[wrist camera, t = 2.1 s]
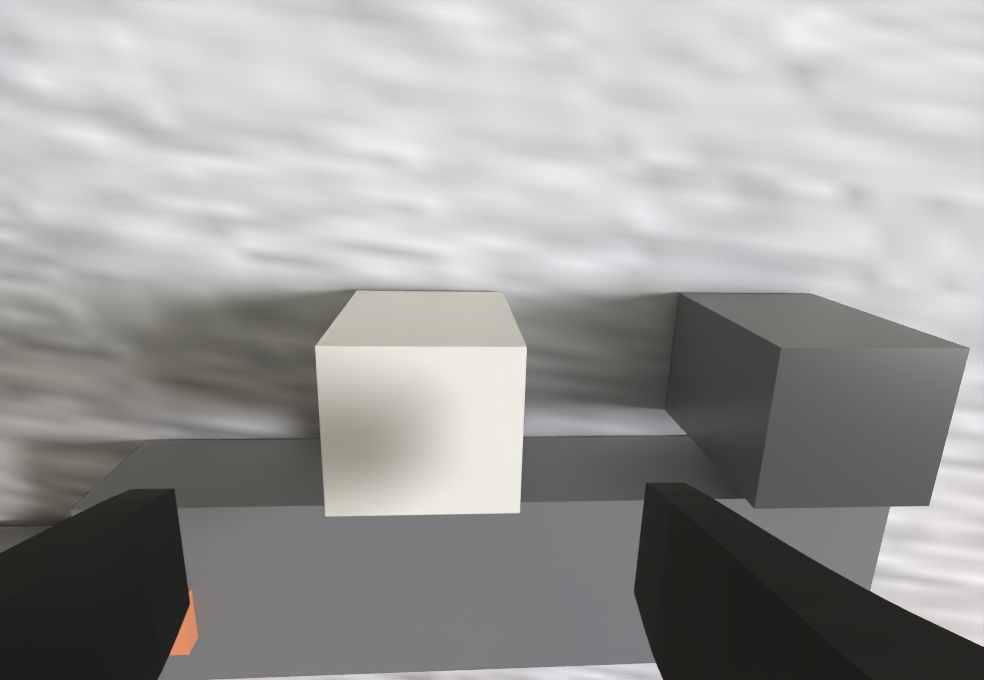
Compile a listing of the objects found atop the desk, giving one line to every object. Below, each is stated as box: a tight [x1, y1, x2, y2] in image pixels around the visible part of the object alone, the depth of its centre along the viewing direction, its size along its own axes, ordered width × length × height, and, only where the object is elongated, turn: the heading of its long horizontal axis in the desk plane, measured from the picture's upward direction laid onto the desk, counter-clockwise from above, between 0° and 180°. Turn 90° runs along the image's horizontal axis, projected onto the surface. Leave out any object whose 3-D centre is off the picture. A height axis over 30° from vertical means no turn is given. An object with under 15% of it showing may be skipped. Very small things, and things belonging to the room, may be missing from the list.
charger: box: [315, 291, 527, 517], centre depth 16 cm, size 7×4×6 cm, turn 179°
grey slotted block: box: [0, 293, 970, 680], centre depth 17 cm, size 10×28×6 cm, turn 89°
